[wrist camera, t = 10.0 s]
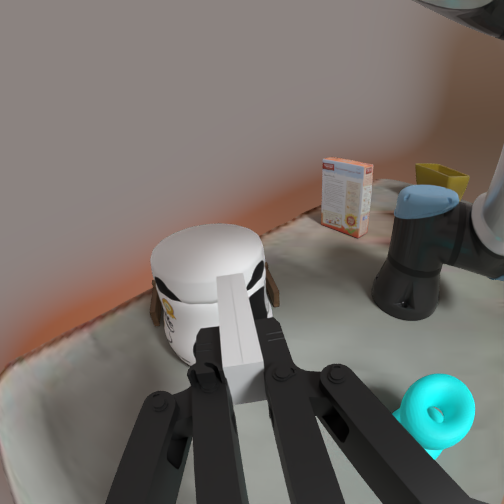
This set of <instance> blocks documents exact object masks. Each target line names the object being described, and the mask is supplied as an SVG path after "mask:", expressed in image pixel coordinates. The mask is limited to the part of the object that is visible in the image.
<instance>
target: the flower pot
mask: <svg viewBox="0 0 504 504" xmlns="http://www.w3.org/2000/svg"><path fill="white" fill-rule="evenodd" d="M415 166H416V181H417V185H435V186H441V187H444V188H446V189H451V190H453V191H455V192H456V193H457V194H458V197H459V202H460V200H461V198H462V196H463V194H464V192H465V189H466V187H467V184H468V181H469V176H468V175H465V174H463V173H461V172H458V171H455V170H453V169H450V168H448V167H445V166H442V165H439V164H415Z"/></svg>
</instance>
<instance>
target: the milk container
mask: <svg viewBox="0 0 504 504" xmlns="http://www.w3.org/2000/svg"><path fill="white" fill-rule="evenodd" d="M150 260H151V269H152V274H153V277H154V280H155V282H156V289H157V292H158V295H159V298H160V300H161V303H162V306H163V310H164V329H165V333H166V336H167V339H168V341H169V343H170V345H171V347H172V348H173V350H174V351H175V353H176V354H177V355H178V356H179V357H180V358H181V359H182V360H183V361H184V362H185V363H187V364H189V365H190V366H192V365H193V364H195V363H196V336H197V334H198V332H199V330H200V329H201V328H208V327H216V326H219V314H218V299H217V282H216V276H223V275H230V274H237V273H243V275H244V280H245V284H246V289H247V293H248V297H249V302H250V306H251V310H252V315H253V319H254V320H259V319H265V318H270V317H273V314H272V308H271V305H270V302H269V300H268V297H267V294H266V270H265V255H264V249H263V245H262V242H261V240H260V238H259V236H258V234H256V233H255V232H253V231H252V230H250V229H249V228H245V227H242V226H238V225H233V224H221V223H219V224H205V225H200V226H195V227H190V228H186V229H184V230H181V231H178V232H176V233H173V234H172V235H170V236H168V237H167V238H165V239H163V240H162V241H161V242H160V243H159V244H158V245H157V246H156V247H155V248H154V249H153V252H152V255H151V259H150Z"/></svg>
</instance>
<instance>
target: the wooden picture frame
mask: <svg viewBox="0 0 504 504" xmlns="http://www.w3.org/2000/svg"><path fill="white" fill-rule="evenodd" d="M265 270H266V289H267V292H268V294H269V296H270V299H271V301H272V303H273V306H274V307H278V306H279V290H278V288H277V286H276V284H275V282H274V280H273V278H272V276H271V274H270V272H269V270H268V264H267V262H265ZM152 285H153V292H152V299H151V307H150V315H151V318H152V320H153V323H154V325H155V326H160V317H161V305H162V303H161V300H160V298H159V295H158V292H157V289H156V282H155V280H152Z"/></svg>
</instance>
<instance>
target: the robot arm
mask: <svg viewBox="0 0 504 504" xmlns="http://www.w3.org/2000/svg"><path fill="white" fill-rule="evenodd" d="M413 1H415V2H417V3H419V4H421V5H422V6H424V7H427V8H429V9H430V10H432V11H434V12H436V13H439V14H440V15H443V16H445V17H446V18H448V19H451V20H453V21H455V22H457V23H459V24H462V25H464V26H466V27H469V28H471V29H474V30H476V31H479V32H481V33H484V34H487V35H490V36H493V37H496V38H498V39H501V40H504V0H413ZM394 215H395V218H394V225H393V231H392V236H391V242H390V247H389V252H388V257H387V259H386V261H385V263H384V264H383V266H382V268H381V270H380V272H379V273H378V274H377V276H376V277H375V280H374V283H373V288H372V296H373V299H374V301H375V302H376V304H377V305H378V306H379V307H380V308H381V309H382V310H384V311H385V312H387V313H388V314H390V315H392V316H394V317H397V318H400V319H404V320H421V319H425V318H427V317H429V316H430V315H431V314H433V312H434V311H435V309H436V306H437V304H438V301H439V283H440V271H441V268H442V265H443V264H447V265H451V266H454V267H458V268H461V269H464V270H467V271H471V272H474V273H477V274H480V275H483V276H486V277H488V278H489V279H492V280H494V279H495V280H500V281H504V146H503V150H502V153H501V156H500V159H499V162H498V165H497V168H496V171H495V173H494V176H493V179H492V182H491V185H490V187H489V190H488V192H486V193H483V194H481V195H480V196H479V197H478V198H477V199H476V200H475V202H474V204H473V205H470V204H466V203H462V202H459V197H458V194H457V193H456V192H455V191H453V190H451V189H446V188H444V187H441V186H435V185H412V186H408V187H406V188H404V189H402V190H401V191H400V193H399V195H398V199H397V205H396V209H395V211H394ZM216 282H217V299H218V314H219V326H216V327H208V328H201V329H200V330H199V332H198V334H197V336H196V363H195V364H193V365H192V366H191V367H190V368H189V369H188V373H187V376H188V379H189V381H190V383H191V386H190V387H189V388H188V389H186V390H184V391H182V392H179V393H176V394H174V395H171V394H170V393H168V392H166V391H157V392H154V393H152V394H150V395H149V396H147V398H146V399H145V401H144V403H143V406H142V408H141V410H140V413H139V415H138V418H137V420H136V423H135V425H134V428H133V430H132V433H131V435H130V438H129V441H128V443H127V446H126V448H125V451H124V454H123V456H122V459H121V461H120V464H119V467H118V470H117V472H116V475H115V478H114V480H113V483H112V486H111V489H110V492H109V495H108V497H107V500H106V503H105V504H176V500H177V496H178V492H179V488H180V484H181V480H182V476H183V472H184V468H185V464H186V460H187V456H188V452H189V448H190V444H191V441H192V437H193V452H194V473H195V488H196V501H197V504H249V501H248V496H247V490H246V484H245V478H244V472H243V465H242V459H241V453H240V446H239V439H238V432H237V425H236V418H235V413H234V410H233V405H236V404H243V403H250V402H256V401H262V400H267V401H268V407H269V417H270V418H271V422H272V427H273V431H274V435H275V440H276V444H277V448H278V453H279V457H280V461H281V465H282V469H283V474H284V478H285V482H286V486H287V490H288V494H289V498H290V502H291V504H345V502H344V499H343V496H342V493H341V490H340V487H339V484H338V481H337V478H336V475H335V472H334V469H333V467H332V464H331V461H330V458H329V455H328V452H327V449H326V446H325V443H324V440H323V438H322V435H321V432H320V429H319V426H318V423H317V420H316V417H315V416H317V417H318V419H319V420H320V422H321V423H322V424H323V426H324V427H325V428H326V430H327V431H328V433H329V434H330V435H331V437H332V438H333V439H334V441H335V442H336V444H337V445H338V446H339V448H340V449H341V450H342V452H343V453H344V454H345V456H346V457H347V458H348V460H349V461H350V462H351V464H352V465H353V466H354V468H355V469H356V470H357V471H358V473H359V474H360V475H361V477H362V478H363V479H364V481H365V482H366V483H367V484H368V486H369V487H370V488H371V489H372V491H373V492H374V493H375V494H376V496H377V497H378V498H379V499H380V501H381V502H382V503H383V504H488V503H485V502H482V501H478V500H475V499H472V498H470V497H469V496H468V495H467V494H466V493H465V492H464V491H463V490H462V489H461V488H460V487H459V486H458V484H457V483H456V482H455V481H454V480H453V479H452V478H451V477H450V476H449V475H448V474H447V473H446V472H445V471H444V470H443V468H442V467H441V466H440V465H439V464H438V463H437V462H436V461H435V460H434V459H433V458H432V457H431V456H430V455H429V454H428V452H427V451H426V450H425V449H424V448H423V447H422V446H421V445H420V444H419V443H418V442H417V441H416V440H415V438H414V437H413V436H412V435H411V434H410V433H409V432H408V431H407V430H406V429H405V428H404V427H403V426H402V424H401V423H400V422H399V421H398V420H397V419H396V418H395V417H394V416H393V415H392V414H391V413H390V411H389V410H388V409H387V408H386V407H385V406H384V405H383V404H382V403H381V402H380V401H379V400H378V398H377V397H376V396H375V395H374V394H373V393H372V392H371V391H370V390H369V389H368V388H367V386H366V385H365V384H364V383H363V382H362V381H361V380H360V379H359V378H358V377H357V376H356V374H355V373H354V372H353V371H352V370H351V369H350V368H348V367H347V366H345V365H342V364H331V365H328V366H327V367H325V368H324V369H323V370H322V372H315V371H305V370H302V369H300V368H299V367H297V366H296V365H295V364H294V362H293V360H292V358H291V355H290V352H289V349H288V346H287V343H286V340H285V338H284V334H283V332H282V329H281V326H280V323H279V322H278V321H277V320H276V319H275V318H274V317H270V318H265V319H259V320H254V319H253V315H252V310H251V306H250V302H249V297H248V293H247V289H246V284H245V280H244V275H243V273H237V274H230V275H223V276H216Z"/></svg>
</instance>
